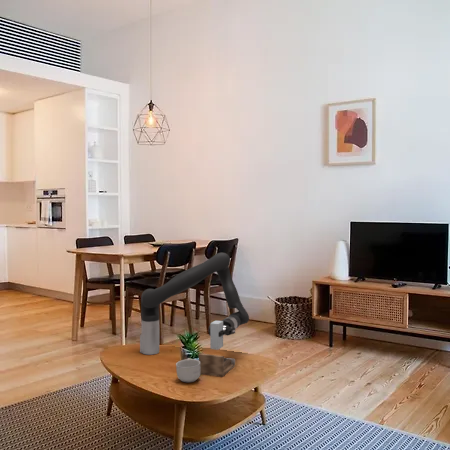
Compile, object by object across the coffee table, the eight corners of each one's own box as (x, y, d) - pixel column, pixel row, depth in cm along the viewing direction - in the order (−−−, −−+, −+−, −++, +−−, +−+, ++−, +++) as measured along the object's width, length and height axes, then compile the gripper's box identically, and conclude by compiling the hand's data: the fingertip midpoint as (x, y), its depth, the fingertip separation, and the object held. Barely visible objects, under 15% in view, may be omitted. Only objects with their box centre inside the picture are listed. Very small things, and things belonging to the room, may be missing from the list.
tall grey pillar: (210, 348, 228) (210, 323, 227) (215, 345, 234) (215, 320, 233) (218, 349, 227) (218, 324, 226) (223, 346, 232) (223, 321, 232)
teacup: (197, 385, 211) (197, 367, 211) (173, 383, 213) (173, 365, 212) (204, 374, 225) (204, 357, 224) (181, 373, 227) (181, 355, 226)
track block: (198, 373, 226) (198, 354, 225) (212, 363, 241) (212, 345, 240) (222, 376, 221) (222, 357, 221) (235, 366, 236) (235, 347, 236)
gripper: (214, 316, 245) (200, 324, 230) (241, 319, 240) (228, 327, 224) (214, 331, 246) (200, 340, 230) (241, 334, 241) (228, 343, 225)
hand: (214, 334), depth 227 cm, fingers closed on tall grey pillar, 4 cm apart
